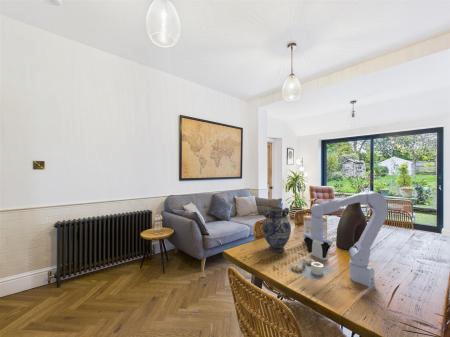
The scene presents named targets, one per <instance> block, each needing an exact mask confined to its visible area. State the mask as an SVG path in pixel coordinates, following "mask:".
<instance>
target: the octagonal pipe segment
mask: <svg viewBox="0 0 450 337" xmlns="http://www.w3.org/2000/svg"><path fill="white" fill-rule="evenodd" d="M323 266H324V264H323V263H322V262H319V261H316V262H312V263H311V272H312V273H313V274H316V275H322V274H323Z"/></svg>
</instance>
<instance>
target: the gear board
mask: <svg viewBox="0 0 450 337" xmlns="http://www.w3.org/2000/svg"><path fill="white" fill-rule="evenodd" d="M301 258H302V261H299V262H297V263H294V264H291V265H290V266H288V267H286V269H288V270H290V271H292V272H294V273H296V274H298V275H300V276H303V277H304V278H307V279H309V280H311V281H313V282H315V281H318V280H320V279H322V278H323V277H326V276H327V275H328V274H330V273H333V272H334V269H331V268H329V267H327V266H324V265H323V274H322V275H316V274H313V273H312V272H311V263H312V262H317V261H316V260H315V259H312V258H306V257H301Z"/></svg>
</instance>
